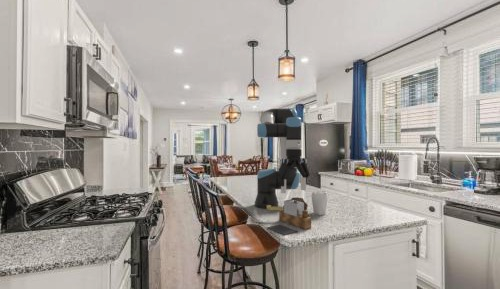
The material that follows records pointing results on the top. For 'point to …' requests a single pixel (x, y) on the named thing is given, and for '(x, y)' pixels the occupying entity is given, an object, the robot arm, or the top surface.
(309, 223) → the plane body
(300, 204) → the grey block
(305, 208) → the rock
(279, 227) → the mat
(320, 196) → the cup
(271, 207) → the lever
